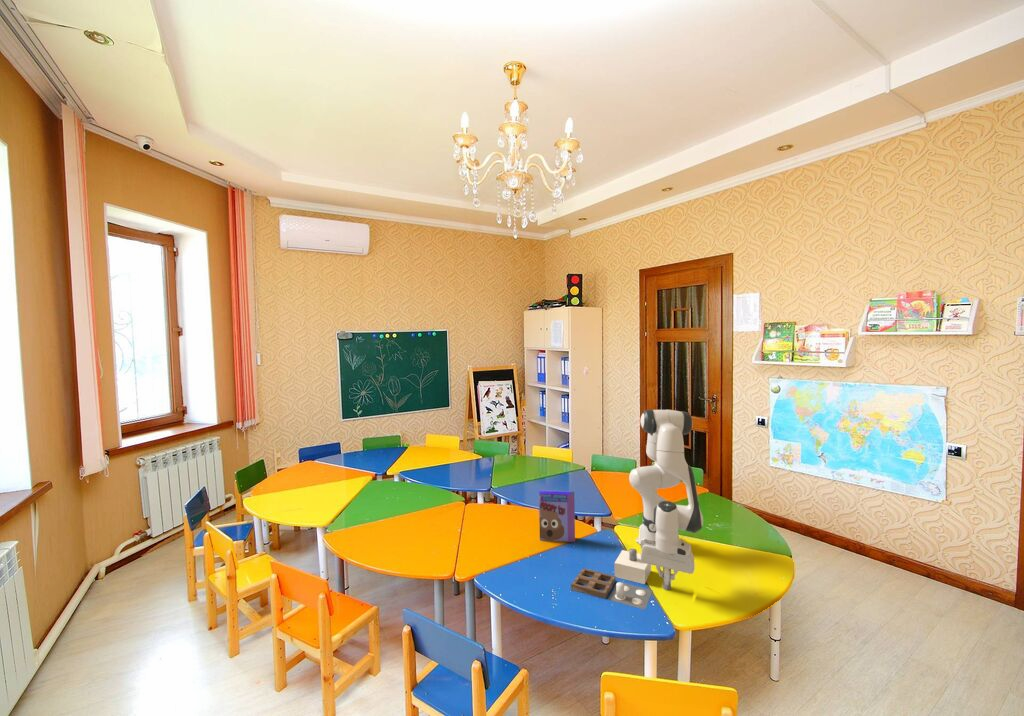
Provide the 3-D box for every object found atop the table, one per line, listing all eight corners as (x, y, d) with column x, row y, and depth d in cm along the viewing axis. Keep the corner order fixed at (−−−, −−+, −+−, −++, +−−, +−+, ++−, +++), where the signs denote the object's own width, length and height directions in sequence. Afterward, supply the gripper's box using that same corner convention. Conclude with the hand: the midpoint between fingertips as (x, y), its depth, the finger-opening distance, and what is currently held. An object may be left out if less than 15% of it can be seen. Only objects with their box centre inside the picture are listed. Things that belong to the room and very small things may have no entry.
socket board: (583, 574, 189) (583, 568, 188) (615, 583, 182) (615, 576, 182) (571, 591, 176) (571, 584, 176) (605, 601, 170) (605, 593, 169)
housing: (622, 565, 196) (622, 541, 195) (651, 572, 190) (651, 547, 189) (614, 579, 185) (614, 553, 184) (644, 586, 179) (644, 560, 178)
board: (617, 583, 181) (617, 569, 181) (652, 592, 175) (652, 578, 174) (607, 602, 169) (607, 586, 169) (645, 612, 162) (645, 596, 162)
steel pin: (664, 586, 178) (664, 562, 177) (671, 588, 176) (671, 564, 176) (662, 589, 175) (662, 565, 175) (670, 592, 174) (670, 567, 173)
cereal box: (539, 540, 221) (538, 493, 220) (540, 536, 226) (539, 490, 225) (574, 542, 219) (574, 494, 218) (574, 537, 223) (574, 491, 222)
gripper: (638, 541, 177) (638, 574, 178) (693, 553, 167) (693, 588, 168) (642, 535, 183) (642, 567, 184) (695, 546, 173) (695, 580, 173)
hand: (667, 577), depth 176 cm, fingers closed on steel pin, 3 cm apart
